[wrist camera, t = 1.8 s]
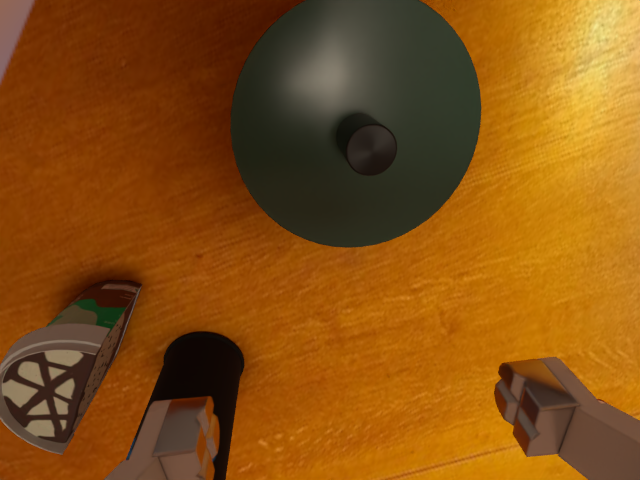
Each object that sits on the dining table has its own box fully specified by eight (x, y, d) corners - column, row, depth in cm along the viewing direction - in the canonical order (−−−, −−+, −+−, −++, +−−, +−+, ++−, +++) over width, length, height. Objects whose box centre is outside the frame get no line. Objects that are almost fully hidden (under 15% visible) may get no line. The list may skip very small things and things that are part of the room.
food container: (75, 246, 32) (-6, 319, 23) (147, 271, 34) (97, 348, 25) (48, 347, 37) (-28, 441, 28) (113, 365, 38) (60, 458, 29)
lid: (211, 208, 22) (194, 243, 18) (268, -58, 17) (262, -96, 13) (412, 260, 25) (437, 300, 21) (516, 46, 20) (578, 43, 16)
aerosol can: (249, 385, 41) (221, 637, 23) (174, 393, 41) (86, 655, 23) (238, 327, 38) (195, 573, 20) (155, 335, 37) (35, 593, 19)
